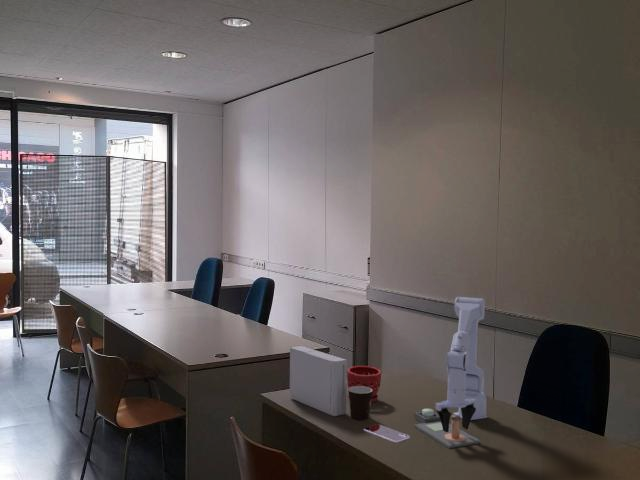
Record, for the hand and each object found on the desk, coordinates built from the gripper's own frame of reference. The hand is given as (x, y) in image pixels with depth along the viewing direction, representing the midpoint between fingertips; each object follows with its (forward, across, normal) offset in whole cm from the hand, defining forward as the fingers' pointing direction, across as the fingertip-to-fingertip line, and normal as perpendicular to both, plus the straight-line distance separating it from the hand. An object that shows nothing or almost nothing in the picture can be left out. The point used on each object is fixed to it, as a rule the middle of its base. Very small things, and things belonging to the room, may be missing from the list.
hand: (455, 429), depth 199 cm
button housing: (+3, +2, +19) cm, 19 cm away
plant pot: (+4, -9, +47) cm, 48 cm away
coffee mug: (+4, -18, +31) cm, 36 cm away
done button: (+3, +2, +19) cm, 19 cm away
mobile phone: (+4, -18, +13) cm, 23 cm away
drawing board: (+3, 0, +5) cm, 6 cm away
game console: (+4, -29, +48) cm, 56 cm away
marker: (+2, 0, 0) cm, 3 cm away
